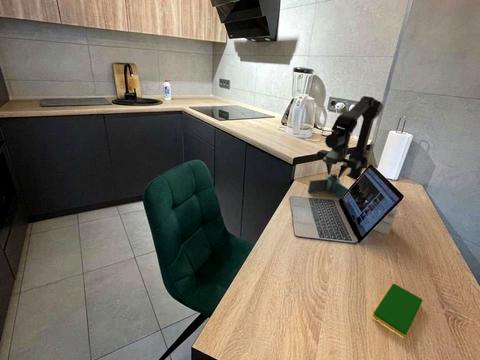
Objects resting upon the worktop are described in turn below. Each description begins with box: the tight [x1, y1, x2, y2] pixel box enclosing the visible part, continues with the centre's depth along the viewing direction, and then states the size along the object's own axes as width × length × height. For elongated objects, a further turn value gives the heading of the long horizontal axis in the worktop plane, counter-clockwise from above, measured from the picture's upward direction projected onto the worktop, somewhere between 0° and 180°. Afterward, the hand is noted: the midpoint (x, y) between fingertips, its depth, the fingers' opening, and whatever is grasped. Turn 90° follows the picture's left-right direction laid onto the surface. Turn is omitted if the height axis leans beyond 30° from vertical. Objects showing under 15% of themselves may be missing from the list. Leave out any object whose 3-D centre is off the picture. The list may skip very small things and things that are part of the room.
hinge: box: [307, 175, 350, 199], centre depth 119 cm, size 14×17×6 cm
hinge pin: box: [330, 173, 338, 181], centre depth 122 cm, size 3×3×8 cm
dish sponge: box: [372, 283, 423, 338], centre depth 65 cm, size 7×14×2 cm, turn 134°
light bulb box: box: [364, 199, 399, 236], centre depth 97 cm, size 11×7×11 cm, turn 58°
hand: (333, 176), depth 121 cm, fingers open, 5 cm apart
